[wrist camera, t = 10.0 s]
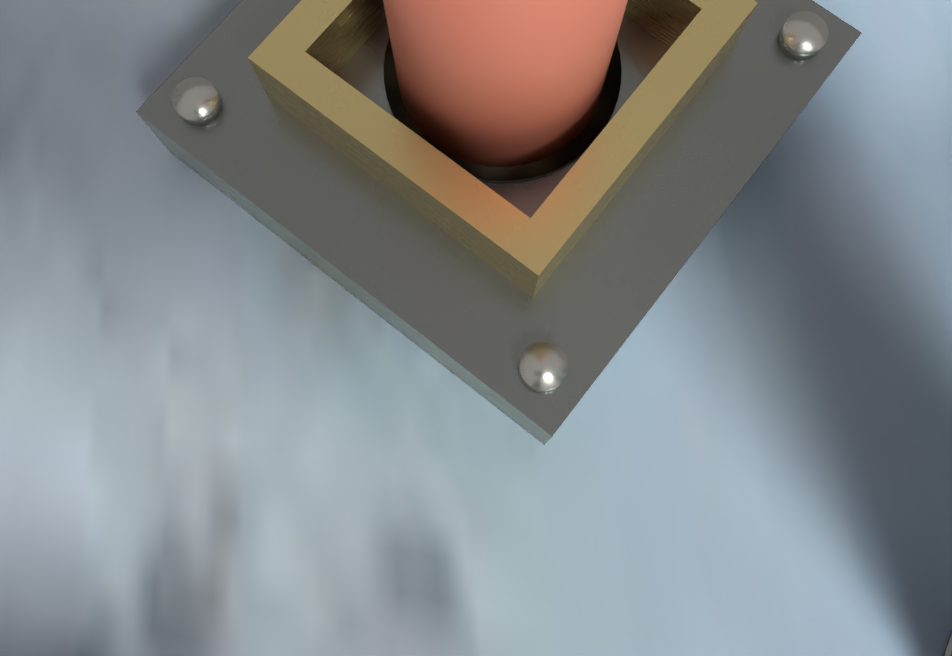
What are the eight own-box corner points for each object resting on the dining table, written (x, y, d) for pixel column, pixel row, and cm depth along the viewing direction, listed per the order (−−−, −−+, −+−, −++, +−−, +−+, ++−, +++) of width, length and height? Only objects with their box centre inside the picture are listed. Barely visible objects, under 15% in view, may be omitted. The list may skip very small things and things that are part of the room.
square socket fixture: (544, 444, 23) (559, 428, 19) (169, 151, 25) (103, 72, 21) (824, 79, 25) (897, -13, 21) (462, -163, 27) (459, -293, 23)
